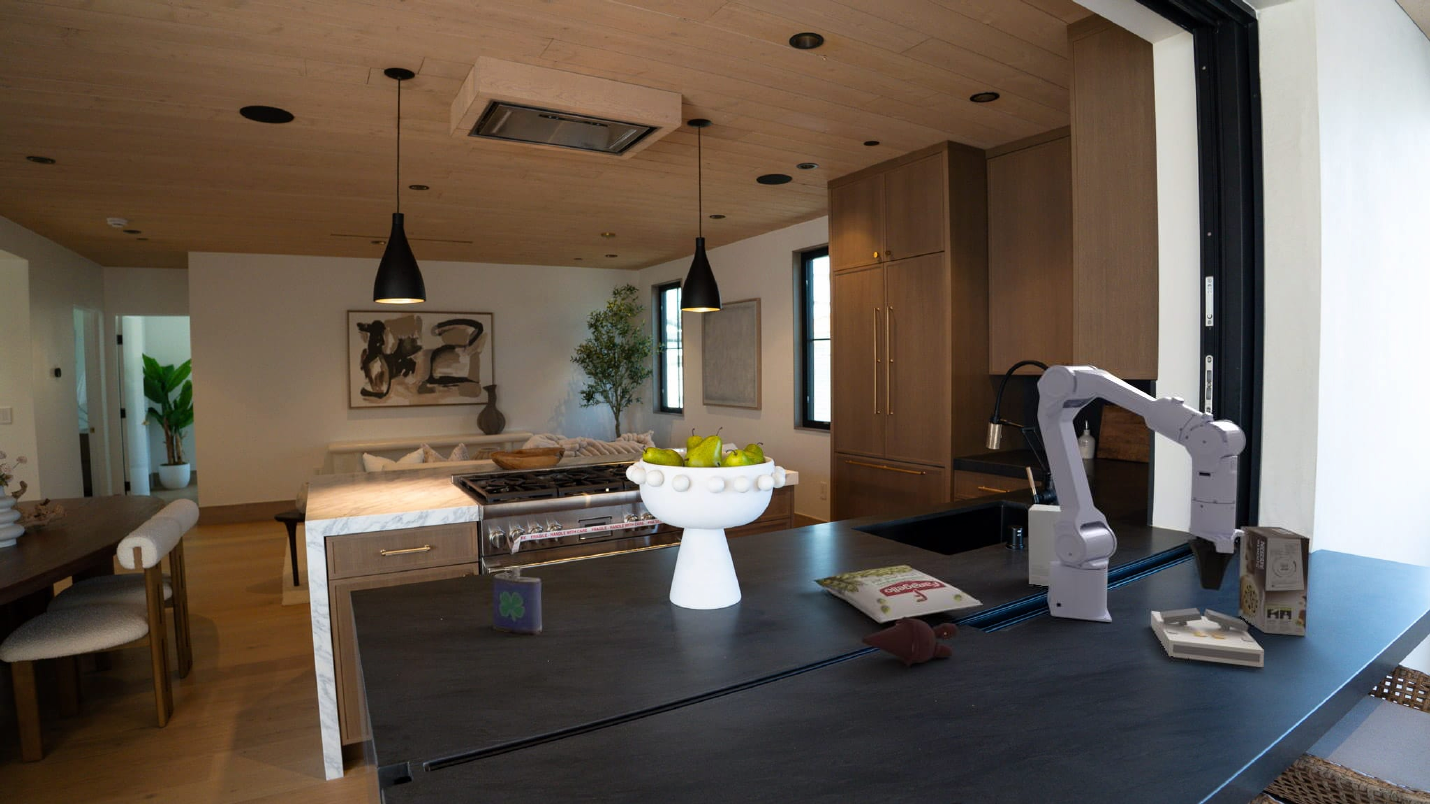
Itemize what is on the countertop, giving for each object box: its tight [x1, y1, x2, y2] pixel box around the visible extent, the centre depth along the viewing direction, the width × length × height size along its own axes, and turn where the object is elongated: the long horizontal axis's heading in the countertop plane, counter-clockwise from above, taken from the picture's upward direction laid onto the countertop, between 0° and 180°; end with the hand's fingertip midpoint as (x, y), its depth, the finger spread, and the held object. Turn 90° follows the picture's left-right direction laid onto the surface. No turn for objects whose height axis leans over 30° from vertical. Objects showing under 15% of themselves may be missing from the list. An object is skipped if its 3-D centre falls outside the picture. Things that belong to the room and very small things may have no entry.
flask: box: [492, 566, 543, 636], centre depth 126 cm, size 9×3×11 cm, turn 68°
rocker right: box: [1203, 608, 1250, 633], centre depth 118 cm, size 5×3×2 cm, turn 70°
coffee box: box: [1238, 525, 1311, 637], centre depth 127 cm, size 9×6×16 cm
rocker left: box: [1159, 607, 1202, 626], centre depth 120 cm, size 5×3×2 cm, turn 69°
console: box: [1150, 610, 1265, 668], centre depth 118 cm, size 12×14×3 cm
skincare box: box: [1027, 503, 1061, 587], centre depth 150 cm, size 8×7×16 cm
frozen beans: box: [812, 564, 983, 624], centre depth 138 cm, size 21×6×25 cm
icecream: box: [860, 616, 960, 667], centre depth 112 cm, size 7×7×15 cm
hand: (1210, 588), depth 115 cm, fingers closed
